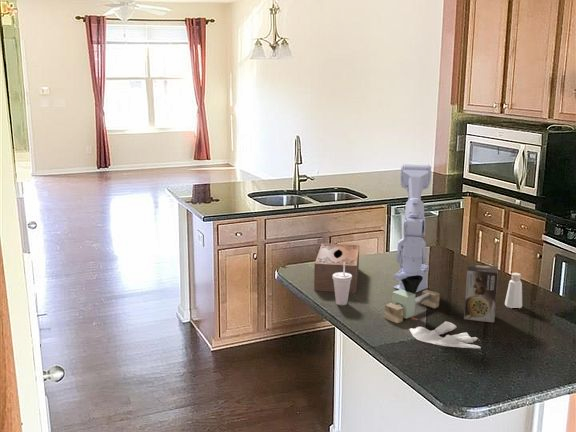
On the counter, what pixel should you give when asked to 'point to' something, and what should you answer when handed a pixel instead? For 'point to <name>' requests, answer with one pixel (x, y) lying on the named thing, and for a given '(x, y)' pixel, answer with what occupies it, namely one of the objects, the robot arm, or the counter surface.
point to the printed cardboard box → (481, 293)
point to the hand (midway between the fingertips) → (410, 297)
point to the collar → (404, 302)
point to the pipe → (417, 300)
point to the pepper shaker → (514, 292)
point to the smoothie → (342, 286)
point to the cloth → (450, 341)
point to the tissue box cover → (335, 265)
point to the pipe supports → (398, 310)
